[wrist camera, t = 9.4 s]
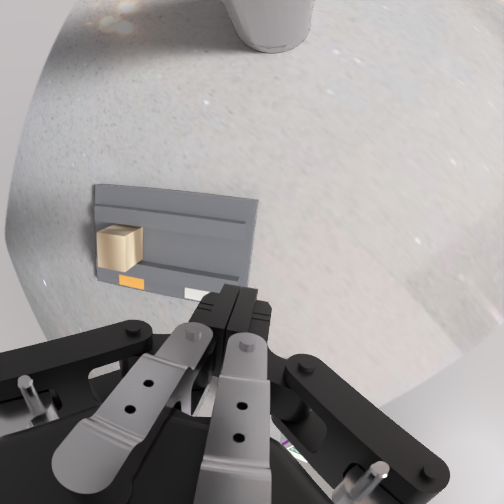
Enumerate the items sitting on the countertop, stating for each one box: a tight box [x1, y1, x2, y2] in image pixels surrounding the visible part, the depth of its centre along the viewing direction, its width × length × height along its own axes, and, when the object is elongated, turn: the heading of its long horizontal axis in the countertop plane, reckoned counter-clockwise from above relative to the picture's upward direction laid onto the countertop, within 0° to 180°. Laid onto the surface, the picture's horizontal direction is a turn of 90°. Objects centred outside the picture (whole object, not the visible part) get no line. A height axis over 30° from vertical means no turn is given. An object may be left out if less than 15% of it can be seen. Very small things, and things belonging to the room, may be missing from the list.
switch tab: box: [97, 224, 143, 272], centre depth 36 cm, size 4×4×5 cm
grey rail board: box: [94, 184, 258, 302], centre depth 38 cm, size 22×14×3 cm, turn 83°
